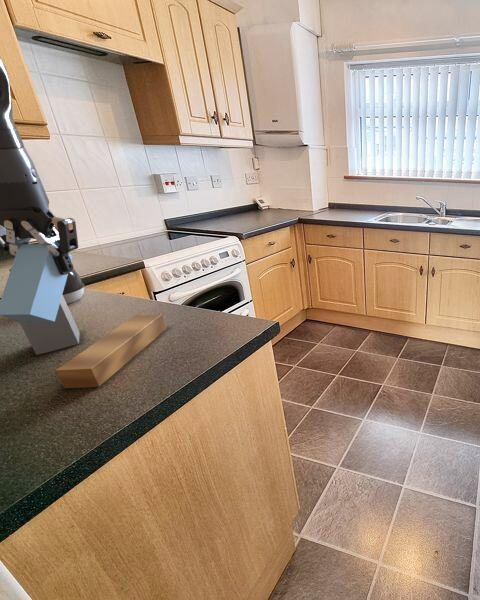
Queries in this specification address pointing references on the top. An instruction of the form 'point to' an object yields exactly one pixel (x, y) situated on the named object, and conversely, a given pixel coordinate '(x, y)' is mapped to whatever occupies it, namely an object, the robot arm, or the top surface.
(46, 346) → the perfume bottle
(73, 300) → the pump dispenser
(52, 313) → the light blue bottle
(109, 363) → the wooden board
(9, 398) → the top surface
